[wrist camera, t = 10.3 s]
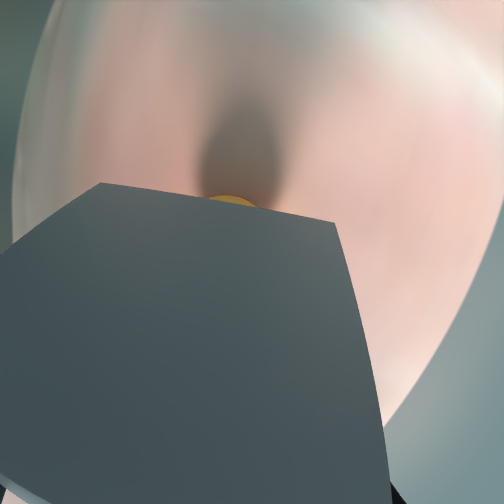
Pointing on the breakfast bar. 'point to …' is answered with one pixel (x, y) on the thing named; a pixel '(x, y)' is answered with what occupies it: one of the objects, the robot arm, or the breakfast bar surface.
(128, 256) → the matte grey cube
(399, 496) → the robot arm
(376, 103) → the breakfast bar surface
